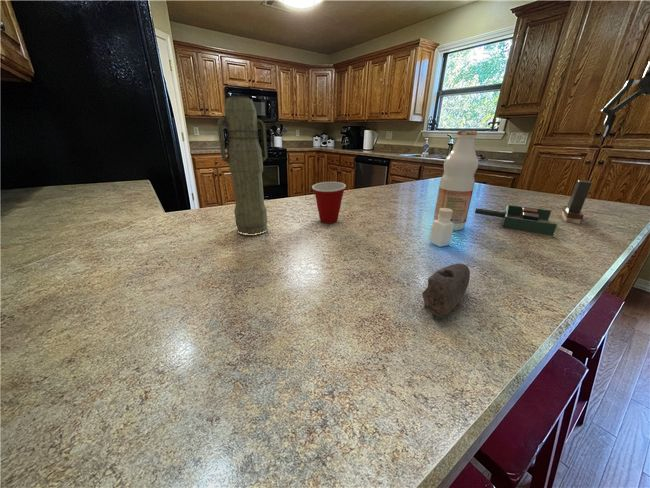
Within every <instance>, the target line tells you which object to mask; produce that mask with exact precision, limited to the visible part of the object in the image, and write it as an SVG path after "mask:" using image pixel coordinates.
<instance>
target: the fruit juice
mask: <svg viewBox="0 0 650 488" xmlns="http://www.w3.org/2000/svg"><path fill="white" fill-rule="evenodd" d="M477 134H478V131H477V130H457V133H456V138H457V139H456V142H455V144H454V145H453V147H452V149H451V151H450V152H449V154H448V155H447V156H446V157H445V158H444V161H443V174H442V175H441V177H440V182H439V184H438V191H437V197H436V202H435V208H434V214H433V219H432V223H433V222H434V221H435V220H438V214H439V209H440V208H448V209H451V210H453V212H452V217H451V220H450V221H451V222H452V223H453V224H454V228H453V231H461V230H463V229H464V228H465V227H466V222H467V219H468V214H469V210H470V205H471V202H472V197H473V193H474V188H475V174H476V171H477V170H478V168H479V157H478V156H477V153H476V147H475V145H476V144H475V139H476V138H477Z"/></svg>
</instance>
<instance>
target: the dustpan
mask: <svg viewBox="0 0 650 488" xmlns="http://www.w3.org/2000/svg"><path fill="white" fill-rule="evenodd" d="M523 207H524V208H532V209H537V211H538V213H537V214H538V215H539V219H538V221H533V220H527V219H520V215H521V212H522V209H523ZM551 213H552V210H551V209H545V208H544V209H543V208H538V207H537V208H536V207H530V206H523V205H522V206H521V205H514V204H507V205H506V208H505V211H501V210H493V209H486V208H479V207H475V211H474V214H476V215H480V216H481V215H482V216H489V217H494V218H501V219H503V221H502V228H506V229H511V230H515V231H516V230H518V231H524V232H527V233H535V234H539V235H540V234H541V235H547V236H554V234H555V232H556V230H557V226H558V223H554V222H553V223H552V222H547V221H549V219H550V216H551ZM513 216H514V217H513ZM515 216H516V217H515ZM539 220H543V221H539Z"/></svg>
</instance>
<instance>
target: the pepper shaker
mask: <svg viewBox="0 0 650 488" xmlns="http://www.w3.org/2000/svg"><path fill="white" fill-rule="evenodd" d="M452 212H453V210H451V209H448V208H440V209H439V214H438V220H435V221H434V222H433V221H432V226H431V230H430V236H429V243H431V244H433V245H435V246H436V247H438V248H442V247H446V246H449V245H450V244H451V241H452V236H453V232H454V230H453V228H454V224H453V223H452V222H451V221H450V220H451V217H452Z"/></svg>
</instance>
